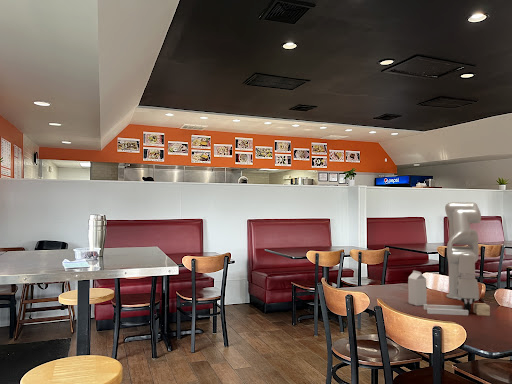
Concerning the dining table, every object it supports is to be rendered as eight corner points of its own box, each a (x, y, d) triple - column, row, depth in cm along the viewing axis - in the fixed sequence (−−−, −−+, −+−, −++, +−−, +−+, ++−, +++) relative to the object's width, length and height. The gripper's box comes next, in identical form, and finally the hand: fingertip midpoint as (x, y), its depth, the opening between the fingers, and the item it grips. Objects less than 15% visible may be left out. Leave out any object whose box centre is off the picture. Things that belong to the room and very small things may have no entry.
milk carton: (416, 306, 236) (415, 272, 236) (408, 303, 242) (408, 270, 243) (426, 305, 237) (426, 271, 238) (418, 302, 244) (418, 270, 245)
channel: (423, 308, 229) (423, 304, 229) (462, 310, 225) (462, 305, 225) (427, 313, 219) (427, 308, 219) (468, 315, 216) (468, 310, 216)
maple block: (473, 312, 222) (473, 303, 222) (485, 312, 221) (485, 303, 221) (477, 315, 216) (477, 305, 217) (489, 315, 215) (489, 306, 215)
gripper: (454, 277, 218) (454, 312, 218) (484, 278, 216) (485, 313, 215) (450, 274, 226) (450, 308, 225) (479, 275, 223) (480, 309, 223)
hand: (467, 310), depth 220 cm, fingers closed
